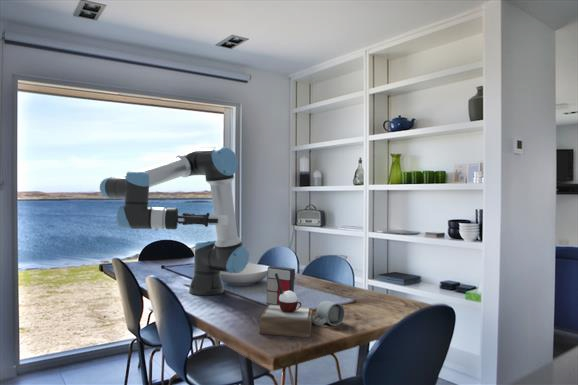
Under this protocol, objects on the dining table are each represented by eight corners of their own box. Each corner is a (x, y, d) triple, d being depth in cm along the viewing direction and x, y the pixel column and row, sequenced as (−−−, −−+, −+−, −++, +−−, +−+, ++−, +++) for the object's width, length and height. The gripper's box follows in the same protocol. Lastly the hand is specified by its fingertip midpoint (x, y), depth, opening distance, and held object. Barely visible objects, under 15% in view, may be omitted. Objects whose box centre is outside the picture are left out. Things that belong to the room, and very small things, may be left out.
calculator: (265, 304, 168) (266, 267, 169) (270, 301, 172) (271, 265, 172) (289, 308, 163) (290, 270, 163) (293, 305, 167) (295, 268, 167)
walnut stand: (267, 319, 147) (267, 303, 147) (311, 322, 145) (312, 306, 145) (259, 333, 131) (260, 316, 131) (309, 337, 129) (310, 319, 130)
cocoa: (303, 313, 138) (306, 277, 138) (290, 316, 133) (294, 278, 133) (282, 306, 144) (285, 271, 144) (269, 308, 139) (273, 273, 139)
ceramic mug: (330, 318, 151) (331, 297, 151) (345, 324, 144) (345, 302, 144) (306, 322, 146) (307, 300, 146) (320, 329, 139) (320, 306, 139)
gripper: (169, 226, 154) (226, 227, 158) (159, 232, 130) (227, 233, 133) (170, 206, 155) (227, 208, 158) (160, 208, 130) (228, 210, 134)
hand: (227, 219), depth 146 cm, fingers open, 13 cm apart
